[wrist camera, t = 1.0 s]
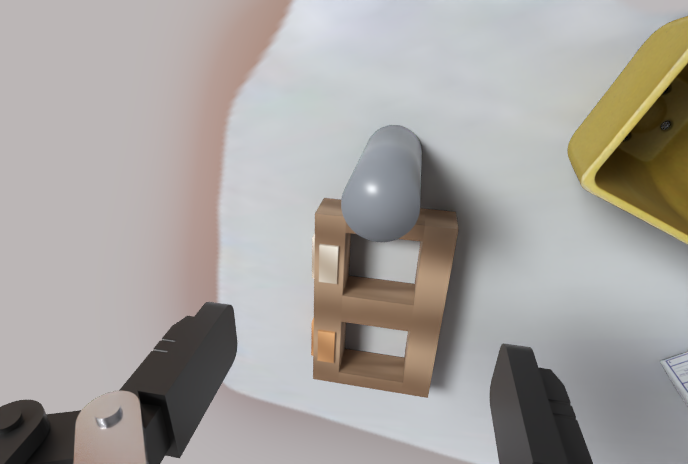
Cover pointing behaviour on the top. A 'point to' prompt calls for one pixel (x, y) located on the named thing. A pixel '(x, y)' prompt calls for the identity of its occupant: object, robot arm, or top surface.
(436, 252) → the socket block
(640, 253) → the top surface
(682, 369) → the medicine box
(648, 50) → the flower pot
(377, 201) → the plug
